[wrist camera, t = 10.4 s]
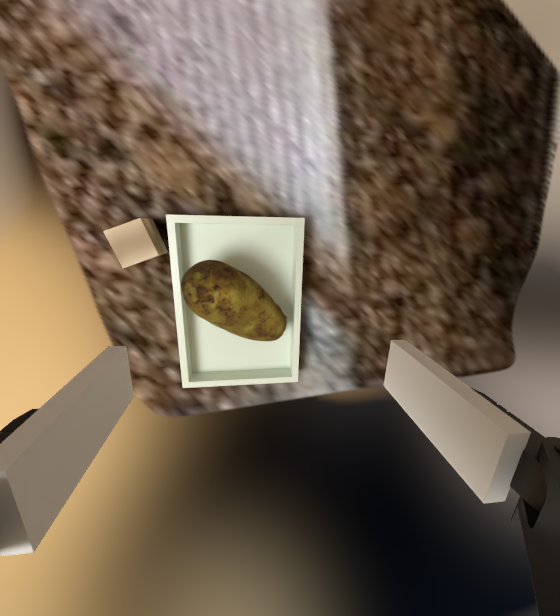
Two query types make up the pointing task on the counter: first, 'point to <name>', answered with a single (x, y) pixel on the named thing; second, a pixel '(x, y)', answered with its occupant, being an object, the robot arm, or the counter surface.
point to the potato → (232, 301)
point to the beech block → (136, 241)
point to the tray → (259, 266)
